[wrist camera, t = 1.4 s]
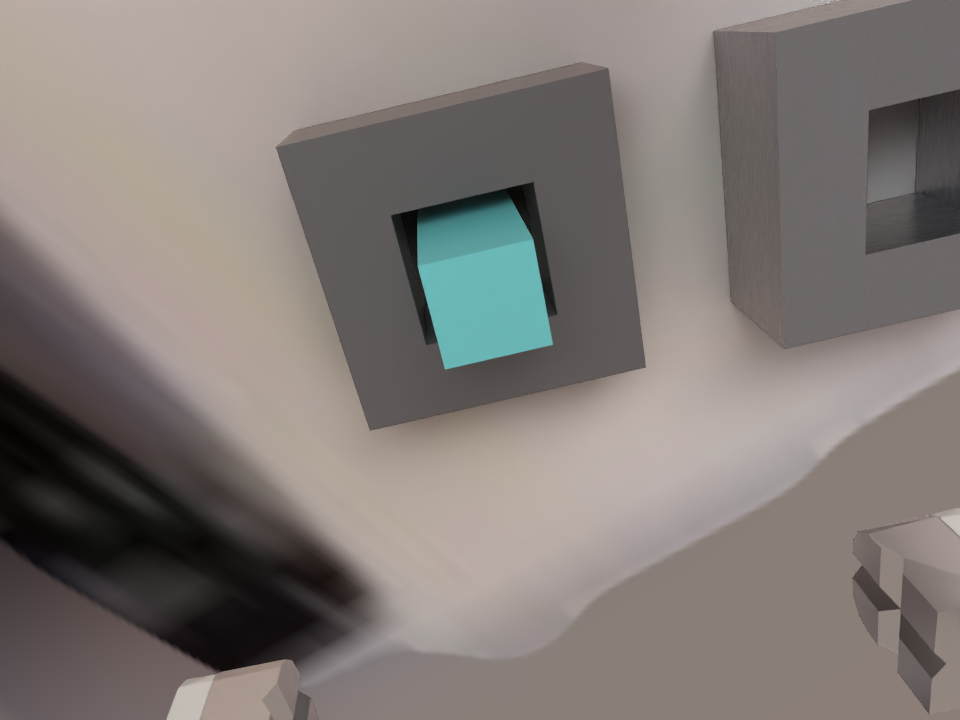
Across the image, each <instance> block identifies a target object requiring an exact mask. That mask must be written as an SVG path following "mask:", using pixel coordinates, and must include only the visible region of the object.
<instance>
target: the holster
mask: <svg viewBox="0 0 960 720" xmlns="http://www.w3.org/2000/svg"><path fill="white" fill-rule="evenodd" d="M276 149H277V152H278V155H279V158H280V161H281V164H282V167H283V170H284V173H285V176H286V179H287V182H288V185H289V188H290V191H291V194H292V197H293V200H294V203H295V206H296V209H297V212H298V215H299V218H300V221H301V224H302V227H303V230H304V233H305V236H306V239H307V242H308V245H309V248H310V251H311V254H312V257H313V260H314V263H315V266H316V269H317V272H318V275H319V278H320V281H321V284H322V287H323V290H324V293H325V296H326V299H327V302H328V305H329V308H330V311H331V314H332V317H333V320H334V323H335V326H336V329H337V332H338V335H339V339H340V342H341V345H342V348H343V351H344V354H345V357H346V360H347V363H348V366H349V369H350V372H351V375H352V378H353V381H354V384H355V387H356V390H357V393H358V396H359V399H360V402H361V405H362V408H363V411H364V414H365V417H366V420H367V423H368V426H369V429H370V431H371V430H375V429H379V428H384V427H388V426H392V425H397V424H401V423H405V422H410V421H414V420H418V419H423V418H427V417H432V416H436V415H440V414H445V413H449V412H453V411H458V410H462V409H466V408H471V407H475V406H479V405H484V404H488V403H493V402H497V401H501V400H506V399H510V398H514V397H519V396H523V395H527V394H532V393H536V392H541V391H545V390H549V389H554V388H558V387H562V386H567V385H571V384H575V383H580V382H584V381H588V380H593V379H597V378H602V377H606V376H610V375H615V374H619V373H623V372H628V371H632V370H636V369H641V368H645V367H646V365H645V358H644V350H643V342H642V334H641V326H640V318H639V310H638V302H637V294H636V286H635V278H634V270H633V262H632V254H631V246H630V238H629V230H628V222H627V214H626V206H625V198H624V190H623V182H622V174H621V166H620V158H619V150H618V142H617V134H616V127H615V119H614V111H613V103H612V95H611V87H610V79H609V71H608V68H604V67H600V66H596V65H592V64H587V63H583V62H581V63H577V64H573V65H568V66H564V67H560V68H556V69H552V70H547V71H543V72H539V73H535V74H531V75H526V76H522V77H518V78H514V79H509V80H505V81H501V82H497V83H493V84H488V85H484V86H480V87H476V88H472V89H467V90H463V91H459V92H455V93H451V94H446V95H442V96H438V97H434V98H430V99H425V100H421V101H417V102H413V103H408V104H404V105H400V106H396V107H392V108H387V109H383V110H379V111H375V112H371V113H366V114H362V115H358V116H354V117H350V118H345V119H341V120H337V121H333V122H329V123H324V124H320V125H316V126H312V127H307V128H303V129H299V130H295V131H294V132H293V133H291V134H290V135H289V136H288V137H287V138H286V139H285V140H284V141H282V142H281V143H280V144H279V145H278V146H277V147H276ZM522 184H523V189H524V195H525V200H526V205H527V211H528V216H529V221H530V227H531V232H532V237H533V241H534V246H535V251H536V257H537V262H538V267H539V273H540V278H541V283H542V289H543V294H544V299H545V305H546V310H547V315H548V321H549V326H550V331H551V337H552V342H553V345H550V346H545V347H541V348H537V349H532V350H528V351H524V352H519V353H515V354H511V355H506V356H502V357H498V358H493V359H489V360H485V361H480V362H476V363H472V364H467V365H463V366H459V367H454V368H450V369H446V370H445V367H444V364H443V360H442V356H441V352H440V349H439V345H438V341H437V337H436V334H435V330H434V326H433V322H432V318H431V315H430V311H429V307H428V306H426V307H425V305H424V302H423V298H422V294H421V290H420V287H419V283H418V279H417V275H416V272H415V268H414V264H413V260H412V257H411V253H410V249H409V246H408V242H407V238H406V234H405V231H404V227H403V223H402V219H401V216H400V213H403V212H407V211H412V210H416V209H420V208H424V207H429V206H433V205H437V204H441V203H446V202H450V201H454V200H459V199H463V198H467V197H471V196H476V195H480V194H484V193H488V192H493V191H497V190H501V189H505V188H510V187H514V186H518V185H522Z"/></svg>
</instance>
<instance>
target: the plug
mask: <svg viewBox="0 0 960 720" xmlns="http://www.w3.org/2000/svg"><path fill="white" fill-rule="evenodd" d="M417 245H418V269H419V273H420V277H421V281H422V285H423V288H424V292H425V296H426V300H427V303H428V307H429V311H430V315H431V318H432V322H433V326H434V330H435V334H436V337H437V341H438V345H439V349H440V352H441V356H442V360H443V364H444V367H445V370H446V369H450V368H454V367H459V366H463V365H467V364H472V363H476V362H480V361H485V360H489V359H493V358H498V357H502V356H506V355H511V354H515V353H519V352H524V351H528V350H532V349H537V348H541V347H545V346H550V345H553V342H552V337H551V331H550V326H549V321H548V315H547V310H546V305H545V299H544V294H543V289H542V283H541V278H540V273H539V267H538V262H537V257H536V251H535V246H534V241H533V238H532V236H531V234H530V232H529V231H528V229H527V227H526V225H525V223H524V221H523V220H522V218H521V216H520V214H519V212H518V211H517V209H516V207H515V205H514V203H513V201H512V200H511V198H510V196H509V194H508V192H507V190H506V189H501V190H497V191H493V192H488V193H484V194H480V195H476V196H471V197H467V198H463V199H459V200H454V201H450V202H446V203H441V204H437V205H433V206H429V207H424V208H420V209H417Z"/></svg>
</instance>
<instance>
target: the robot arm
mask: <svg viewBox="0 0 960 720" xmlns="http://www.w3.org/2000/svg"><path fill="white" fill-rule="evenodd" d="M853 554H854V555H855V557H856V558H857V559H858V560H859V562H860V563H861V564H862V566H861V567H860V568H859V570H858V571H857V573H856V574H855V575H854V577H853V597H854V600H855V604H856V607H857V610H858V613H859V616H860V618H861V620H862V622H863V624H864V625H865V627H866V629H867V631H868V632H869V634H870V635H871V637H872V638H873V639H874V641H875V642H876V644H877V645H878V646H880V647H882V648H884V649H886V650H888V651H890V652H892V653H894V654H896V655H898V673H899V675H900V676H901V677H902V679H903V680H904V681H905V683H906V684H907V685H908V687H909V688H910V689H911V691H912V692H913V693H914V695H915V696H916V697H917V699H918V700H919V701H920V703H921V704H922V705H923V707H924V708H925V709H926V711H927V712H928V713H929V714H935V713H941V712H946V711H951V710H957V709H960V507H959V508H955V509H951V510H946V511H942V512H938V513H933V514H929V515H928V516H921V517H917V518H912V519H908V520H904V521H899V522H895V523H891V524H887V525H883V526H878V527H875V528H870V529H865V530H861V531H857V533H856V535H855V537H854V539H853ZM300 677H301V676H300V674H299V672H298V670H297V668H296V667H295V665H294V663H293V661H292V660H286V659H285V660H280V661H275V662H270V663H265V664H260V665H255V666H250V667H244V668H239V669H234V670H229V671H224V672H220V673H218V674H213V675H208V676H202V677H198V678H192V679H187V680H185V682H184V683H183V684H182V685H181V686H180V687H179V688H178V690H177V692H176V695H175V697H174V700H173V703H172V705H171V708H170V711H169V713H168V716H167V719H166V720H318V715H317V711H316V708H315V706H314V704H313V702H312V699H311V698H310V697H308V696H307V695H305V694H303V693H301V692H299V691H298V688H299V683H300Z"/></svg>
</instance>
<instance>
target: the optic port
mask: <svg viewBox="0 0 960 720" xmlns="http://www.w3.org/2000/svg"><path fill="white" fill-rule="evenodd" d="M714 41H715V57H716V73H717V88H718V104H719V120H720V136H721V152H722V167H723V183H724V199H725V215H726V230H727V246H728V262H729V278H730V294H731V302H732V303H733V304H734V305H735V306H736V307H737V308H739V309H740V310H741V311H742V312H743V313H744V314H745V315H746V316H748V317H749V318H750V319H751V320H752V321H753V322H754V323H756V324H757V325H758V326H759V327H760V328H761V329H762V330H763V331H765V332H766V333H767V334H768V335H769V336H770V337H771V338H773V339H774V340H775V341H776V342H777V343H778V344H779V345H780V346H782V347H783V348H784V349H786V348H791V347H795V346H799V345H804V344H808V343H813V342H817V341H821V340H826V339H830V338H834V337H839V336H843V335H847V334H852V333H856V332H861V331H865V330H869V329H874V328H878V327H882V326H887V325H891V324H895V323H900V322H904V321H909V320H913V319H917V318H922V317H926V316H930V315H935V314H939V313H943V312H948V311H952V310H957V309H960V0H842V1H838V2H834V3H829V4H825V5H821V6H817V7H812V8H808V9H804V10H800V11H796V12H791V13H787V14H783V15H779V16H775V17H770V18H766V19H762V20H758V21H754V22H749V23H745V24H741V25H737V26H733V27H728V28H724V29H720V30H716V31H714ZM919 98H920V112H919V130H918V149H917V167H916V185H915V193H912V194H908V195H904V196H899V197H895V198H891V199H886V200H882V201H878V202H873V203H869V204H867V167H868V127H869V110H873V109H877V108H881V107H885V106H890V105H894V104H898V103H902V102H907V101H911V100H915V99H919Z"/></svg>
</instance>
